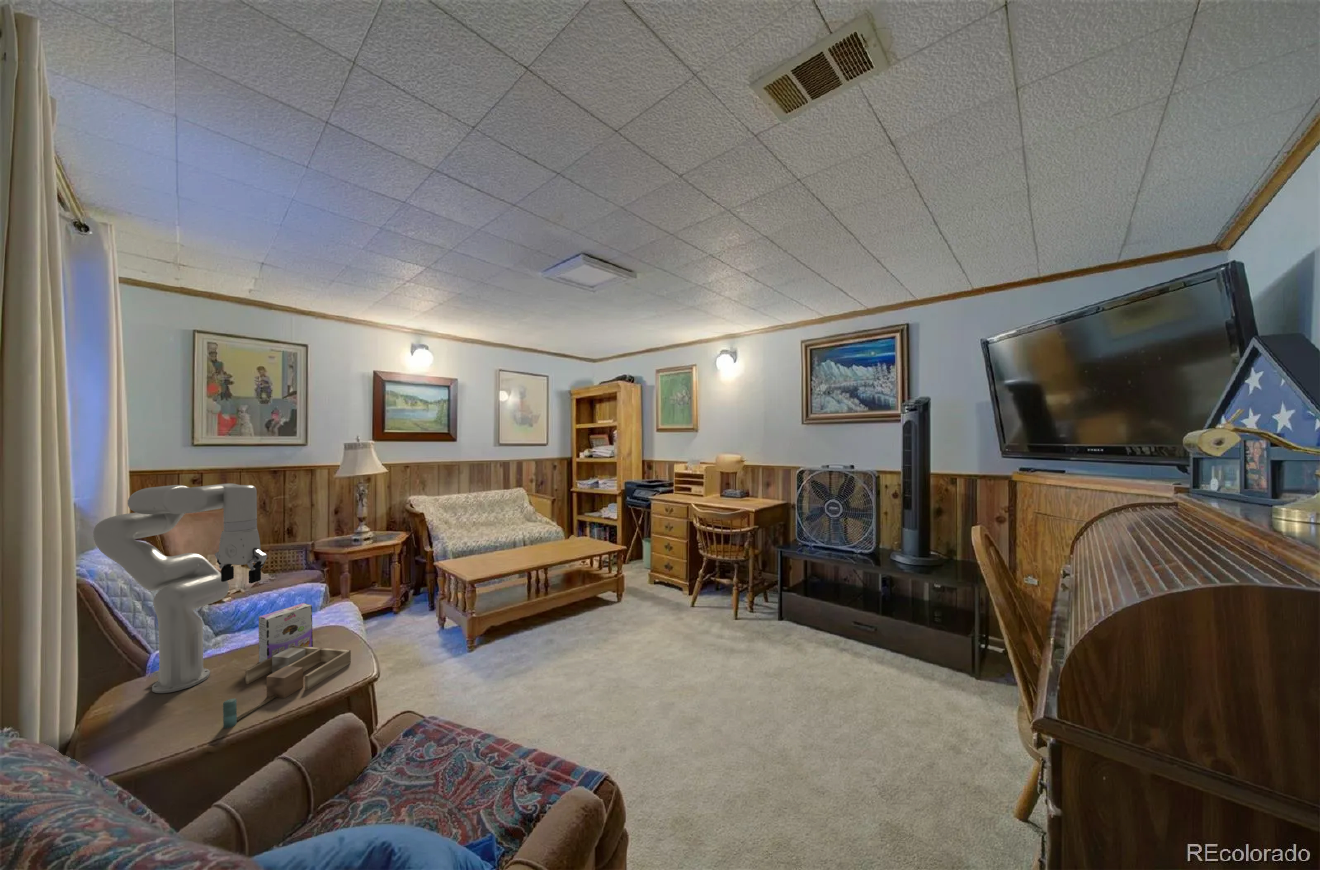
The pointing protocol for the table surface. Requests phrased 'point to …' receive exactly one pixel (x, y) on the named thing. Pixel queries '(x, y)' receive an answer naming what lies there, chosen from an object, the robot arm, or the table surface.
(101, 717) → the table surface
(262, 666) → the lane organizer
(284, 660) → the grey block
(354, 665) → the table surface
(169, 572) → the robot arm
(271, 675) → the tethered block
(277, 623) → the candy box
